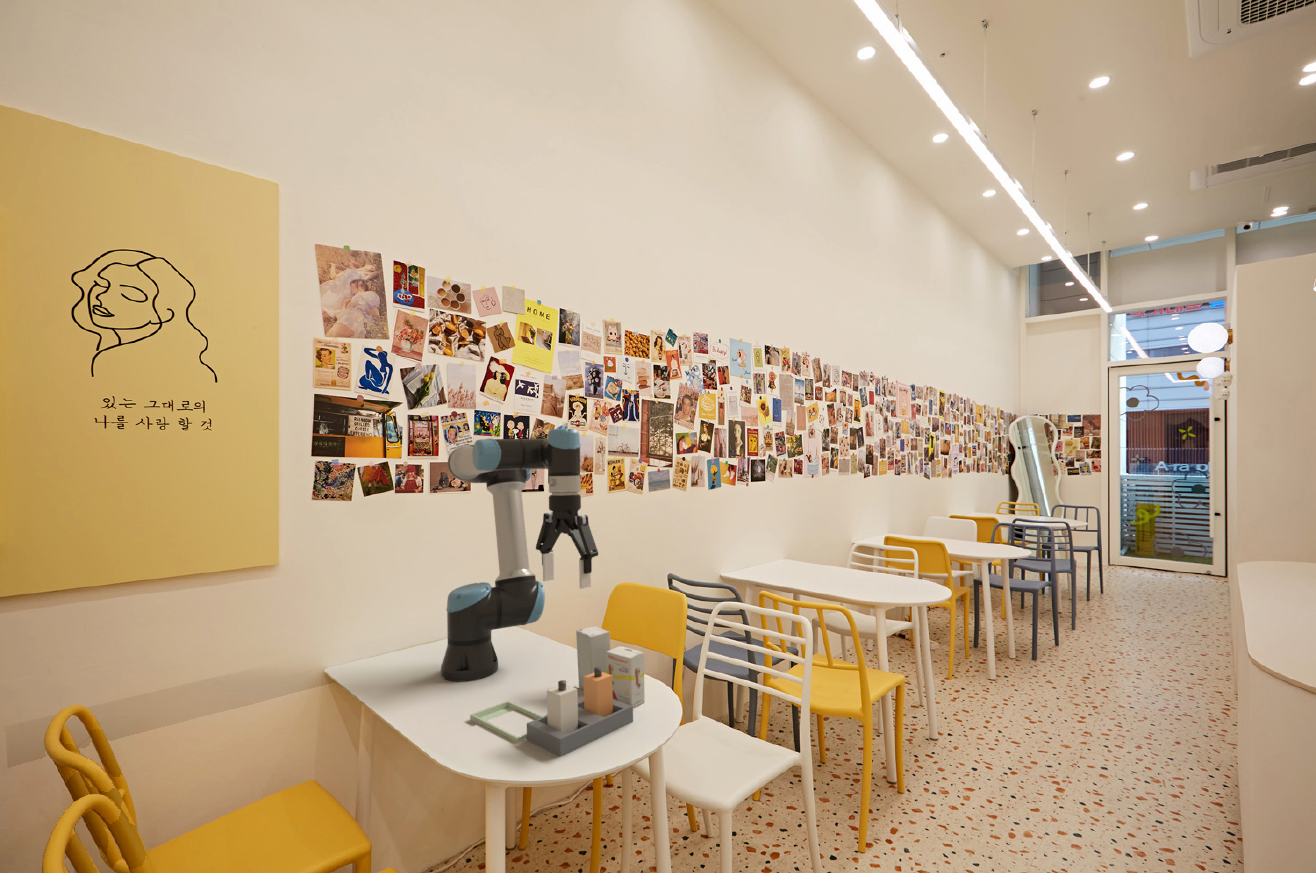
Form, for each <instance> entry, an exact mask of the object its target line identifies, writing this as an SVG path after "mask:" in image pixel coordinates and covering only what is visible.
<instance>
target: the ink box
mask: <svg viewBox="0 0 1316 873" xmlns="http://www.w3.org/2000/svg"><path fill="white" fill-rule="evenodd" d="M606 673H607V674H610V675H612V688H613V699H615V700H617V701H620V702H623V703H626V704H628V705H631V706H633V708H635V707H637V706H639V705H642V704H643V703H645V695H646V694H645V655H644V653H643V652H642V651H640V650H638V649H637V650H636V649H633V648H629V647H626V646H622V645H620V646H619V645H618V646H617V647H614V648H611V649H610V650H609V651H606Z"/></svg>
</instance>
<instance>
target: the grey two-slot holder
mask: <svg viewBox="0 0 1316 873" xmlns="http://www.w3.org/2000/svg"><path fill="white" fill-rule="evenodd" d="M542 716H543V717H541V718H539V719H537V718H535V719H534V720H532V721H529V722H526V733H527V739H526V740H527V741H529V743H532V744H534V745H536V746H538V747H540V748H542V749H544V750H545V751H548V752H550V753H551V754H552V753H553V754H554V755H556V756H558V757H560V758H562V757H563V756H565V755H568V754H570V753H572V752H574V751H576V750H578V749H580V748H582V747H584V746H586V745H588V744H590V743H593V742H594V741H597V740H599V739H601V738H603V737H605V736H607V735H609V734H611V733H613V732H615V731H617V730H619V729H621V728H624V727H625V726H628V725H630V724H632V723H633V722H634V707H633V706H631V705H628V704H626V703H623V702H620V701H617V700H615V699H613V714H611V715H608V716H606V717H602V716H600V715H597V714H595V713H593V712H590V711H588V710H585V709H584V699H583V700H580V701H578V729H577V730H575V731H573V732H571V733H569V734H565V733H563V732H561V731H559V730H557V729H554V728H552V727H550V726H548V721H547V714H546V715H542Z"/></svg>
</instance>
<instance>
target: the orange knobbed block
mask: <svg viewBox="0 0 1316 873" xmlns="http://www.w3.org/2000/svg"><path fill="white" fill-rule="evenodd" d="M583 700H584V709H585V710H588V711H590V712H593V713H595V714H597V715H600V716H602V717H606V716H608V715H611V714H613V688H612V675H610V674H607V673H604V672H602V668H601V667H596V668H594V673H592V674H589V675H586V676H584V690H583Z"/></svg>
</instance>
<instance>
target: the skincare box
mask: <svg viewBox="0 0 1316 873" xmlns="http://www.w3.org/2000/svg"><path fill="white" fill-rule="evenodd" d="M575 633H576V634H575V635H576V652H577V654H576V656H577V672H578V674H577V677H578V688H579V689H581V690H582V691H584V676H586V675H589V674H592V673H594V668H596V667H601V668H602V672H604V673H606V651H609V650H611V638H610V634H611V632H610V631H608V630H605V629H603V628H600V627H597V626H590V627H585V628H580V629H577V630H576V632H575Z"/></svg>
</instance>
